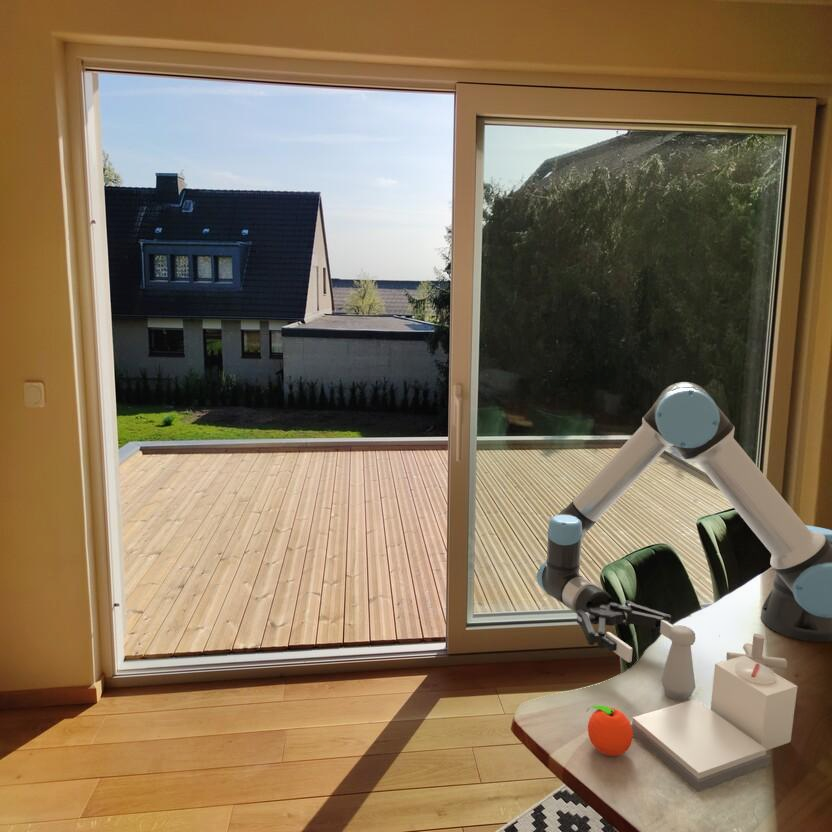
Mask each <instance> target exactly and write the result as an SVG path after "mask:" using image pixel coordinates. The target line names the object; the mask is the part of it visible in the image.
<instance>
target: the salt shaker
mask: <svg viewBox="0 0 832 832" xmlns="http://www.w3.org/2000/svg"><path fill="white" fill-rule="evenodd" d="M670 639H671V640H670ZM670 639H669V640H670V641H671V645H670V647H669V651H668V655H667V657H666V661H665V664H664V667H663V671H662V674H661V676H660V683H661V685H662V687H663V690H664V693H665V695H666V696H667V697H668V698H669V699H671V700H674V701H677V702H680V703H681V702H686V701H689V699H690V698H691V696H692V695H693V693H694V691H695V690H696V681H695V672H694V665H693V657H692V656H693V655H692V647H691V646H693V645H694V644H695V642H696V634H695V631H694V630H693V629H692V628H690V627H688V626H686V625H674V627H672V628H671V629H670Z"/></svg>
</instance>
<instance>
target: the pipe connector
mask: <svg viewBox="0 0 832 832" xmlns="http://www.w3.org/2000/svg"><path fill="white" fill-rule="evenodd" d="M764 643H765V636H764V635H763V634H761V633H753V636H752V643H750V642H746V643H744V644H743V647H742V648H743V651H744V652H745V653H737V652H730V651H727V652H726V657H725V658H726V660H730V659H733V658H737V657H741V656H746V657H748V658H750V659H751V660H753V661H755V662H757V663H759V664H762V665H764V666H766V667H768V668H775V669H783V670H787V668H788V661H787V659H786V658H784V657H783V658H782V657H776V656H774V657H773V656H766V655H763V654H764Z"/></svg>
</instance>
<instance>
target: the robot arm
mask: <svg viewBox="0 0 832 832" xmlns="http://www.w3.org/2000/svg"><path fill="white" fill-rule="evenodd" d="M641 423H642V424H641V426H639V428H638V429H637V430H636V431H635V432H634V433H633V434H632V435H631V436H630V437H629V439H627V440H626V442H625V443H624V444H623V445H621V446H622V447H620V448H619V450H618V451H616V453H615V454H614V455H613V456H612V457H611V459H609V461H607V463H606V464H605V465H604V466H603V467H602V468H601V469H600V470H599V471H598V472H597V473H596V475H594V477H593V478H592V479H591V480H590V481H589V482H588V484H586V486H585V487H584V488H583V489H581V491H580V492H579V493H578V494H577V495H576V496H575V497H574V498H573V500H572V501H571V502H570V503H569V504H568V505H566V507H564V508H563V509H561V511H560V512H559V513H558V514H555V516H554V515H552V517H550V518H549V519H548V520H549V521H548V528H547V530H546V531H547V533H546V534H547V548H546V550H547V551H546V561H545V562H543V563H542V564H541V565H540V566H539V569H538V571H537V572H536V581H537V584H538V586H539V587H540V588H541V590H543V591H544V592H545V593H546V594H547V595H548V596H550V597H552V598H553V599H555V600H556V601H559V602H560V603H562V604H563V605H564V606H565V607H567V608H568V609H570V610H571V611H572V612H574V613H575V615H576V623H577V624H578V625H580V627H581V629H582V632H583V635H584V637H585V639H586V641H587V644H588V645H589V646H594V645H595V644H597V648H598V649H600V650H601V649H602V650H603V649H604V647H605V648H606V649H608V650H609V651H611V652H613V653H615V654H616V655H618V656H619V657H620V658H621V659H623V661H625V662H627V663H632V659H633V647H631V645H629V644H628V643H626V642H624V641H623V640H621V639H620V638H619V637H618V636H617V635H615V634H613V633H612V632H610V631H606V626H610V627H611V626H615V625H624V626H630V625H634V626H638V627H644V628H647V629H653V630H656V631H659V633H660V634H661V635H663V637H666V638H667V639H669V640H670V641H671V639H670V629H671V628H672V627H674V626H675V625H674V624H672V623H671V620H672V615H670V614H669V613H668V614H667V613H664V612H662V611H658V610H655V609H651V608H649V607H647V606H643V605H640V604H636V603H634V602H632V600H625V601H624V604H623V605H621V604H619V603H617V602H615V601H614V600H613V598H612V595H610V593H608V592H607V591H605V590H604V589H602V588H601V587H599V586H597V585H596V584H595V583H593V582H591V581H590V580H588V579H587V578H585V577H583V576H582V575H580V567H581V566H580V565H581V553H582V552H581V551H582V545H583V541H584V539H585V536H586V534H587V532H588V531H590V530H591V528H592V527H594V525H595V524H596V523H597V522H598V521H599V519H600V518H602V516H603V515H604V514H605V513H606V512H607V511H608V510H609V509H610V508H611V507H612V506H613V505H614V504H615V503H616V502H618V501H617V500H618V499H620V498H621V496H623V494H624V493H625V492H626V491H627V490H628V489H629V488H630V487H631V486H632V485H633V484H634V483H635V482H636V481H637V480H638V479H639V478H640V477H641V476H642V475H643V474H644V473H645V472H646V471H647V470H648V468H649V467H650V466H651V465H653V463H654V462H655V461H656V460H657V459H658V458H659V457H660V456H661V455H662V454H663V453H664V452H665V451H666V450H667V449H668V447H674V448H675V449H676V450H677V451H678V453H679V454H680V455H681V456H682V457H683V459H684V460H685V461H688V462H695V463H697V464H698V466H700V468H701V469H702V470H703V471H704V473H705V474H706V475H707V476H708V478H709V479H710V480H711V481H712V482H713V484H714V485H715V486H716V488H717V489H718V490H719V491H720V493H721V494H722V495H723V496H724V498H725V499H726V500H727V501H728V502H729V503H730V505H731V506H732V507H733V508H734V510H735V511H736V512H737V513H738V515H739V516H740V518H741V519H743V521H744V522H745V523H746V524H747V526H748V527H749V528H750V530H751V531H752V532H753V533H754V534H755V536H756V537H757V538H758V540H760V542H761V543H762V544H763V545H764V547H765V548H766V549H767V550H768V551H769V553H770V555H771V557H770V562H769V564H770V566H771V567H772V568H773V569H774V573H773V574H774V575H773V585H772V587H771V590H770V592H769V593H768V595H767V597H766V599H765V601H764V603H763V604H762V607H761V609H760V610H761V611H760V620H761V622H762V623H763V624H764V625H765V626H766V627H767V628H769V629H771V630H772V631H774V632H777V633H779V634H781V635H782V636H783V635H784V636H786V637H788V638H792V639H796V640H800V641H806V642H812V643H826V642H827V643H828V642H832V529H829V528H823V527H819V526H815V525H814V526H813V525H806V524H805V523H804V522H803V521H802V520H801V518H800V517H799V516H798V514H796V512H795V511H794V509H793V508H792V507H791V506H790V504H788V502H787V501H786V500H785V499H784V498H783V496H782V495H781V493H779V491H778V490H777V489H776V487H774V485H773V484H772V483H771V482H770V481H769V479H768V478H767V477H766V476H765V475H764V473H763V472H762V471H761V469H760V468H759V467H758V466H757V465H756V464H755V462H754V461H753V460H752V458H751V457H750V456H749V455H748V454H747V453H746V451H745V450H744V449H743V447H741V445H740V444H739V442H737V440H736V439H735V438H734V436H735V425H733V423H732V421H730V419H729V418H728V417H727V416H726V415H725V413H724V412H723V411H722V410H721V409H720V408H719V406H718V404H717V403H716V402H715V400H714V398H713V397H712V396H711V395H710V394H709V392H708V391H707V390H705V388H703V387H702V386H701V385H699V384H697V383H694V382H687V381H681V382H676V383H673V384H671V385H669V386H667V387H666V388H665V389H664V390H663V391H662V392H661V393H660V395H659V396H658V398H657V399H656V401H655V402H654V404H652V406H651V408H650V409H649V410H648V411H647V412H646V413H645V415H644V416H642V419H641ZM625 614H626V619H625ZM593 625H598V629H597V630H598V632H596V631H595V630H594V626H593Z"/></svg>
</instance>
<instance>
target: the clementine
mask: <svg viewBox="0 0 832 832" xmlns="http://www.w3.org/2000/svg"><path fill="white" fill-rule="evenodd" d="M591 708H593V709H594V708H596V709H597V710H595V711H594V712H593V713H592V715H591V716H590V717H589V720H588V724H587V733H588V734H587V735H588V738H589V740H590V742H591V744H592V745H593V746H594V748H595V749H596V750H597V751H599V752H600V753H601V754H604V755H606V756H614V757H615V756H616V757H617V756H621V755H622V754H624V753H626V752H627V751H628V750H629V748H630V747H631V745H632V742H633V739H634V738H633V737H634V735H633V730H632V726H631V723H630V721H631V720H629V718H628V716H626V715H625V714H624V713H623V712H621V711H620V710H619V709H617V708H614V707H608V706H605V705H602V704H597V705H595V704H594V705H591V706H590V707H589V708H587V709H586V712H588V711H589V710H590V709H591Z"/></svg>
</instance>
